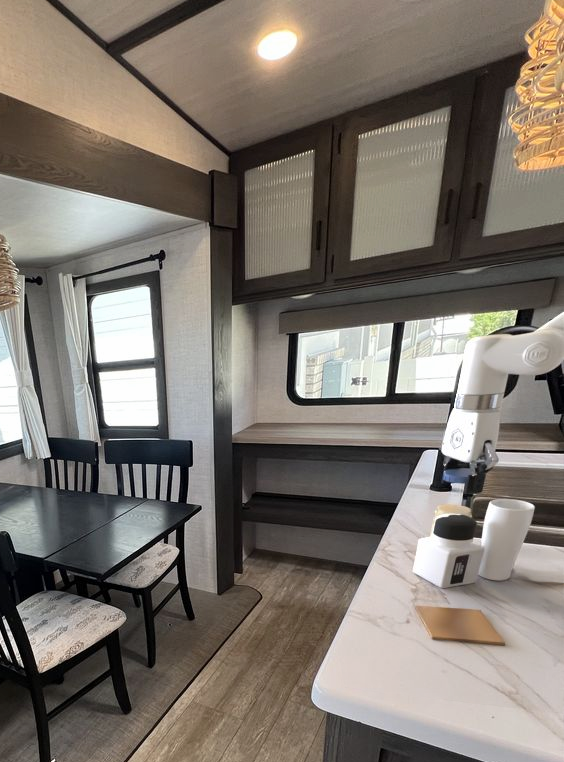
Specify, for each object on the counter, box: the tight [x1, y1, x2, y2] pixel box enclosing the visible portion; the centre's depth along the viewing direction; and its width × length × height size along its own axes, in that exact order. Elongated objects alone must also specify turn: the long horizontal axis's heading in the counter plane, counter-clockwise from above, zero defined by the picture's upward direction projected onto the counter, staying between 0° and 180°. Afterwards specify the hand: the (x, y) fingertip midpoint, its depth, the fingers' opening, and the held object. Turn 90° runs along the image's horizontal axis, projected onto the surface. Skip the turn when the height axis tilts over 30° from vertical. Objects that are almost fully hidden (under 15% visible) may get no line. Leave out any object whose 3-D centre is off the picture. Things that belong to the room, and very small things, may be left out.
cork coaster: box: [414, 605, 506, 646], centre depth 79 cm, size 10×10×1 cm
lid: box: [442, 467, 471, 485], centre depth 99 cm, size 7×7×2 cm
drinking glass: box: [478, 498, 536, 582], centre depth 90 cm, size 7×7×15 cm
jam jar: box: [429, 503, 473, 537], centre depth 104 cm, size 7×7×9 cm
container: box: [412, 514, 485, 589], centre depth 91 cm, size 8×8×13 cm
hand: (460, 487), depth 100 cm, fingers closed on lid, 7 cm apart
